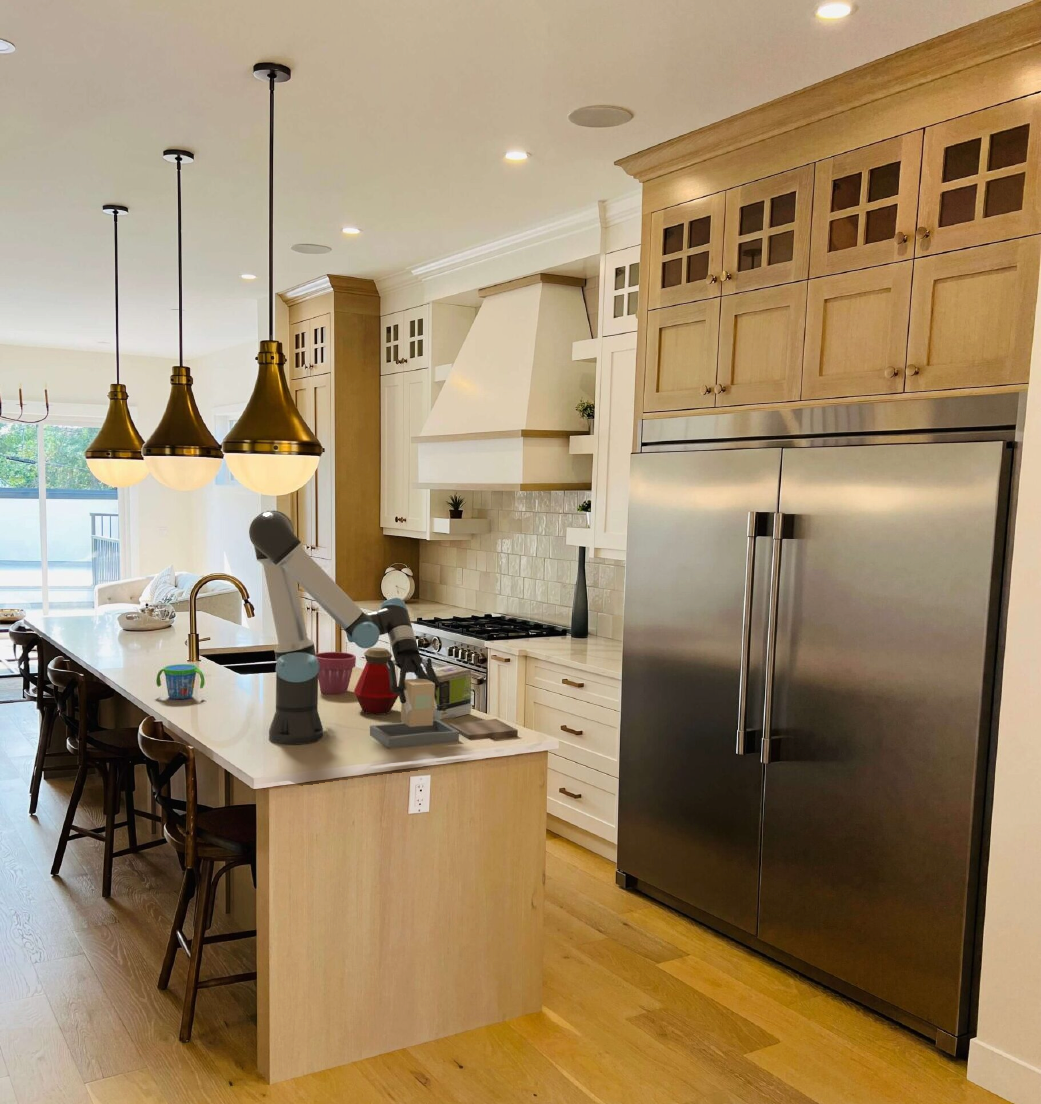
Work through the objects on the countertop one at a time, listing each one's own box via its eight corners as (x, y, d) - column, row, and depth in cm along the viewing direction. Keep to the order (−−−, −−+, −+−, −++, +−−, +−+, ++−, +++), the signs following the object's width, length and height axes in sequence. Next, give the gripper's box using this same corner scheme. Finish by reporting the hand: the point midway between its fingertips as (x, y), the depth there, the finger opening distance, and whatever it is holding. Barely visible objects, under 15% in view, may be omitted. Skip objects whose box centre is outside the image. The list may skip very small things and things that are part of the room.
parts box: (410, 726, 271) (412, 684, 271) (400, 720, 278) (402, 679, 277) (432, 725, 275) (435, 683, 274) (423, 719, 281) (425, 678, 280)
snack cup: (149, 699, 315) (149, 668, 314) (167, 692, 325) (167, 662, 325) (193, 702, 312) (194, 671, 311) (210, 695, 322) (210, 665, 322)
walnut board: (468, 741, 277) (468, 735, 277) (448, 730, 289) (448, 723, 289) (517, 736, 285) (517, 729, 285) (496, 725, 297) (496, 718, 297)
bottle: (343, 709, 310) (345, 647, 309) (377, 703, 320) (378, 643, 319) (374, 718, 300) (376, 655, 298) (408, 712, 310) (409, 650, 308)
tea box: (448, 708, 316) (450, 664, 315) (471, 714, 310) (472, 669, 309) (415, 716, 305) (417, 670, 303) (438, 722, 298) (440, 675, 297)
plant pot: (360, 688, 341) (361, 653, 340) (346, 697, 327) (347, 660, 326) (322, 685, 343) (322, 650, 342) (306, 694, 329) (307, 657, 329)
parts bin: (388, 751, 265) (388, 738, 265) (369, 737, 278) (370, 725, 278) (458, 743, 275) (459, 731, 275) (437, 730, 288) (437, 719, 288)
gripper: (430, 650, 293) (449, 716, 280) (368, 652, 284) (385, 720, 271) (438, 636, 288) (458, 702, 275) (375, 637, 279) (392, 706, 266)
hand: (422, 711), depth 273 cm, fingers closed on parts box, 7 cm apart
